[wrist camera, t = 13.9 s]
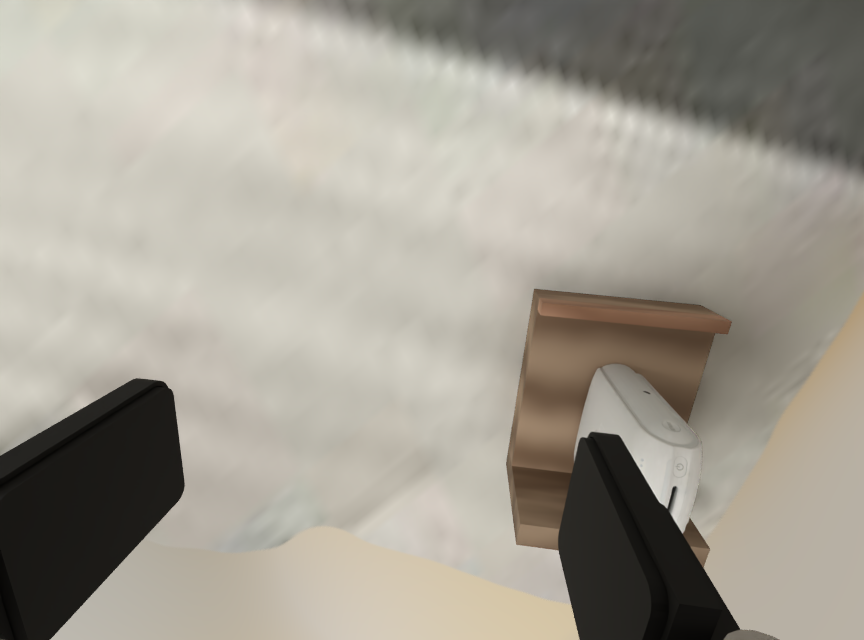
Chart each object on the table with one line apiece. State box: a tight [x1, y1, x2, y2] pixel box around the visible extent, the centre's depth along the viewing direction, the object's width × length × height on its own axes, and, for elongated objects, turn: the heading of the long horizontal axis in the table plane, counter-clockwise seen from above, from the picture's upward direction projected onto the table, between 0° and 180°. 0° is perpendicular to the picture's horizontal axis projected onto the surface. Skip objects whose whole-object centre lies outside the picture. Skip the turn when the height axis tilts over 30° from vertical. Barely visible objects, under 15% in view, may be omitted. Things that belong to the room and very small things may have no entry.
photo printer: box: [574, 364, 702, 534], centre depth 31 cm, size 10×4×12 cm, turn 173°
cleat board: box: [506, 289, 732, 567], centre depth 34 cm, size 18×14×10 cm
